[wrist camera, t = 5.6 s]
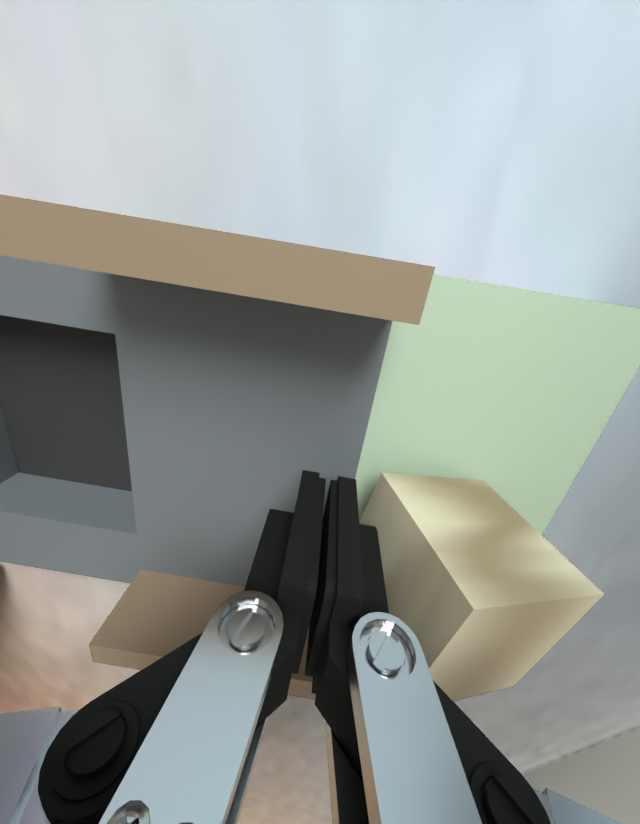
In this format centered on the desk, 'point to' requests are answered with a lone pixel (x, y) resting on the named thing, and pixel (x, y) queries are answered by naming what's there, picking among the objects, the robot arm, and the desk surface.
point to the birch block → (472, 580)
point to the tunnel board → (261, 399)
